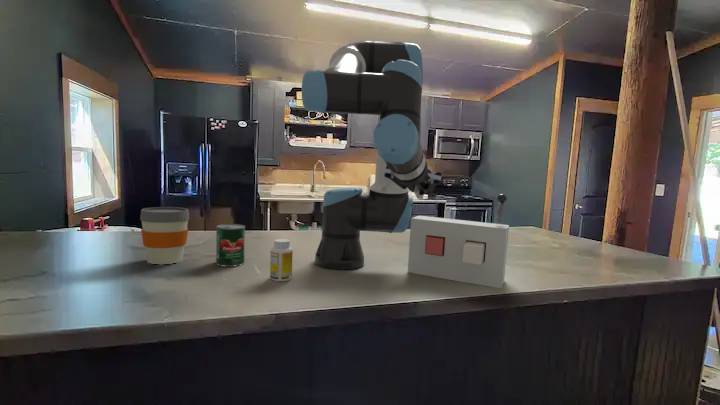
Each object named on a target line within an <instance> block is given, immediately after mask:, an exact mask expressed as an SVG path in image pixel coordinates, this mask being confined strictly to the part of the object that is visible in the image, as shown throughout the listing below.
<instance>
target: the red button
mask: <svg viewBox="0 0 720 405" xmlns="http://www.w3.org/2000/svg"><path fill="white" fill-rule="evenodd" d="M444 248H445V237H438V236H431V235H430V236H428V237H427V241H426V253H429V254H436V255H443V254H444Z"/></svg>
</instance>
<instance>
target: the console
mask: <svg viewBox="0 0 720 405" xmlns="http://www.w3.org/2000/svg"><path fill="white" fill-rule="evenodd" d="M409 229H410V232H409V233H410V234H409V243H408V244H409V246H408V260H407V261H408V262H407V273H410V274H416V275H422V276H426V277H427V276H428V277H433V278H439V279H445V280H450V281H455V282H456V281H457V282H463V283H466V284H467V283H468V284H473V285H479V286H486V287H491V288H496V289H502V288H503V285H504V283H505V276H506V275H505V274H506V266H507V265H506V264H507V254H508V253H507V252H508V240H509V233H510V232H509V231H510V224H502V223H500V224H498V223H493V222H483V221H482V222H481V221H475V220H474V221H473V220H464V219H457V218H456V219H454V218H448V217H447V218H446V217H437V216H427V215H417V216H412V217H410V228H409ZM430 235H431V236H438V237H445V248H444V254H443V255H436V254H429V253H426V241H427V237H428V236H430ZM467 241H471V242H479V243H485V251H484V260H483V262H482V263H481V265H479V264H473V263H466V262H462V261H463V249H464V244H465V243H466V242H467Z"/></svg>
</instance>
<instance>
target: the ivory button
mask: <svg viewBox="0 0 720 405" xmlns="http://www.w3.org/2000/svg"><path fill="white" fill-rule="evenodd" d="M484 251H485V243H479V242H471V241H467V242H466V243H465V244H464V249H463V261H462V262H466V263H473V264H479V265H481V263H482V262H483V260H484Z"/></svg>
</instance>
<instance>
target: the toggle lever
mask: <svg viewBox="0 0 720 405" xmlns="http://www.w3.org/2000/svg"><path fill="white" fill-rule="evenodd" d="M496 200H497V211H496V216H495V222H496V224H502V223H503V216H504V209H505V203H506V202H507V201H508V198H507V195H505V194H504V193H501V194H498V195H497V197H496Z"/></svg>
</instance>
